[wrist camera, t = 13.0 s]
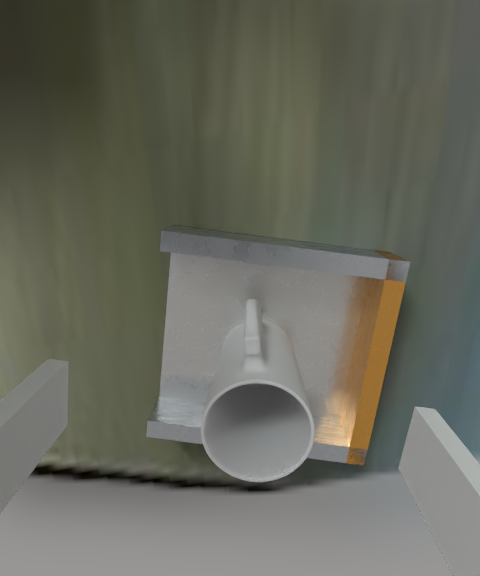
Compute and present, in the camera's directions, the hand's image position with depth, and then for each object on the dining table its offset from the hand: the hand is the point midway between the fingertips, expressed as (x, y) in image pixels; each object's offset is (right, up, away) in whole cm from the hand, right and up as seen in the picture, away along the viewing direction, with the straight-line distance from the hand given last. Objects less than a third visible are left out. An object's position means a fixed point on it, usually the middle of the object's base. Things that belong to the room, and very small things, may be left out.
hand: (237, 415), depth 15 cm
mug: (+1, +1, +20) cm, 20 cm away
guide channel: (+2, +1, +20) cm, 20 cm away
